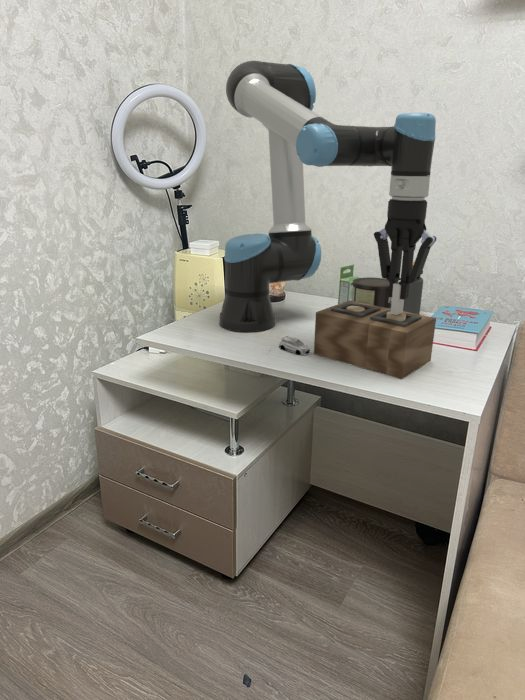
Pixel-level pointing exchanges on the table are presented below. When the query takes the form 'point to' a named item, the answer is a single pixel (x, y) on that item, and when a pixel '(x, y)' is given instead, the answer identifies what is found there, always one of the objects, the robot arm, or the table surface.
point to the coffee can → (372, 291)
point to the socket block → (374, 338)
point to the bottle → (414, 297)
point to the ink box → (346, 284)
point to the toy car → (294, 346)
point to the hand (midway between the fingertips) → (396, 312)
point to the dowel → (396, 316)
